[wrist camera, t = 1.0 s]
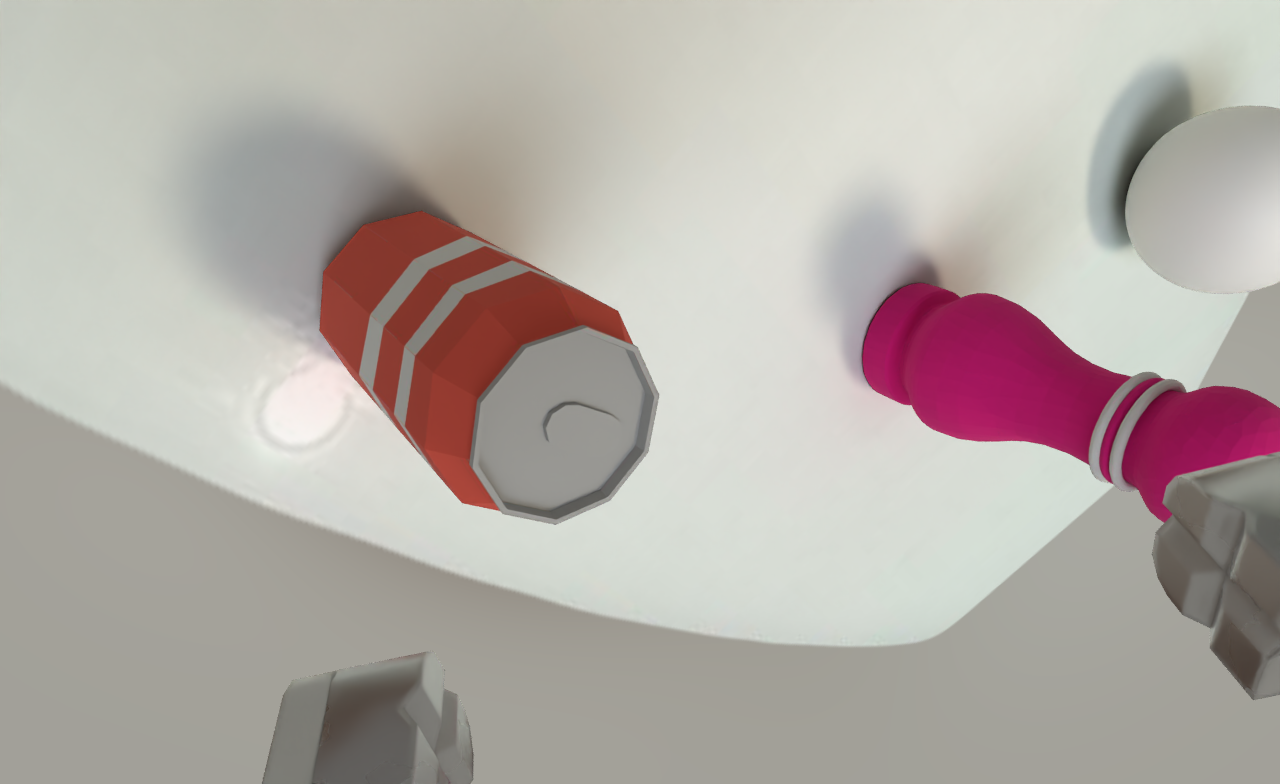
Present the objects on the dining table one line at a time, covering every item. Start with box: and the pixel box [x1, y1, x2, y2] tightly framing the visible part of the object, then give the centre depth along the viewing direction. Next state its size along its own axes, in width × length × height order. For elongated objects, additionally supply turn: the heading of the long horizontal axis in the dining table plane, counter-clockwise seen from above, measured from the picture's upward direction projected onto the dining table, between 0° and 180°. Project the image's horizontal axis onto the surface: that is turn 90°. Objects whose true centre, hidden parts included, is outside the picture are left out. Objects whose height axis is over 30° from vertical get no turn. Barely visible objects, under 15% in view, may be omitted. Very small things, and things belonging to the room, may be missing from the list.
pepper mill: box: [862, 283, 1280, 523], centre depth 39 cm, size 7×7×20 cm
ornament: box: [1125, 106, 1280, 294], centre depth 50 cm, size 10×10×12 cm
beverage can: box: [320, 211, 659, 525], centre depth 26 cm, size 6×6×12 cm
